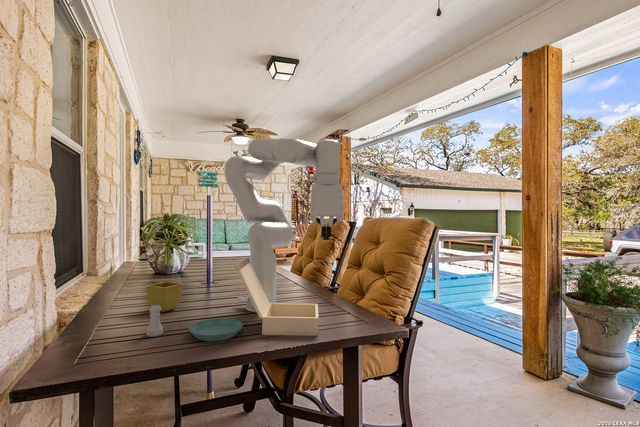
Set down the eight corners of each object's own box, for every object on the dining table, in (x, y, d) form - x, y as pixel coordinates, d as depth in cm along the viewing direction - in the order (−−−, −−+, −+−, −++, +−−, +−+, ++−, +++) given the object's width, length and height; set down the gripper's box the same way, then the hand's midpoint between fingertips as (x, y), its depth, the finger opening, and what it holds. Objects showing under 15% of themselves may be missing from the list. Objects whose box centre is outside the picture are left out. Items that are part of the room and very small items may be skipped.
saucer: (200, 326, 106) (200, 317, 106) (248, 327, 105) (248, 319, 105) (179, 343, 91) (179, 333, 91) (234, 345, 91) (235, 335, 91)
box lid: (262, 317, 98) (259, 318, 98) (269, 302, 115) (267, 304, 115) (237, 264, 98) (234, 266, 98) (248, 257, 115) (245, 259, 115)
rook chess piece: (151, 338, 94) (152, 308, 94) (142, 335, 96) (143, 306, 96) (166, 333, 97) (167, 305, 98) (157, 330, 100) (157, 303, 100)
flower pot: (144, 311, 119) (145, 285, 119) (164, 305, 127) (165, 281, 127) (163, 314, 116) (164, 287, 116) (183, 308, 124) (183, 283, 124)
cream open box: (262, 334, 98) (262, 317, 98) (269, 318, 114) (269, 303, 114) (318, 335, 99) (318, 318, 99) (317, 318, 115) (317, 303, 115)
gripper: (302, 178, 103) (301, 239, 103) (352, 179, 104) (351, 240, 103) (303, 181, 111) (302, 238, 111) (350, 182, 111) (348, 239, 111)
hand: (326, 239), depth 107 cm, fingers closed
